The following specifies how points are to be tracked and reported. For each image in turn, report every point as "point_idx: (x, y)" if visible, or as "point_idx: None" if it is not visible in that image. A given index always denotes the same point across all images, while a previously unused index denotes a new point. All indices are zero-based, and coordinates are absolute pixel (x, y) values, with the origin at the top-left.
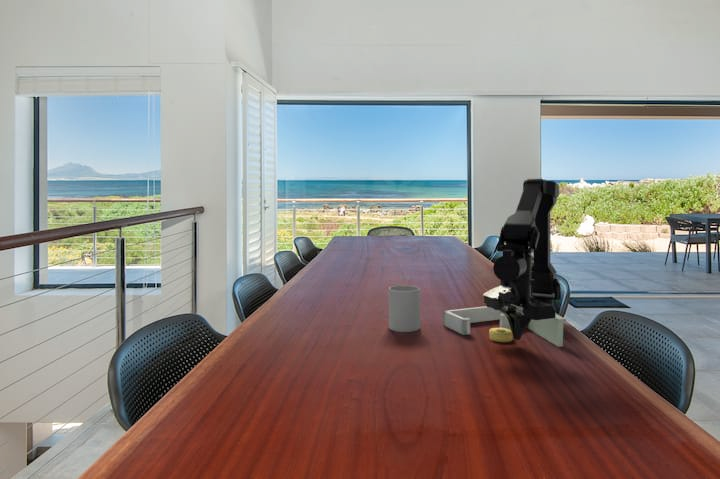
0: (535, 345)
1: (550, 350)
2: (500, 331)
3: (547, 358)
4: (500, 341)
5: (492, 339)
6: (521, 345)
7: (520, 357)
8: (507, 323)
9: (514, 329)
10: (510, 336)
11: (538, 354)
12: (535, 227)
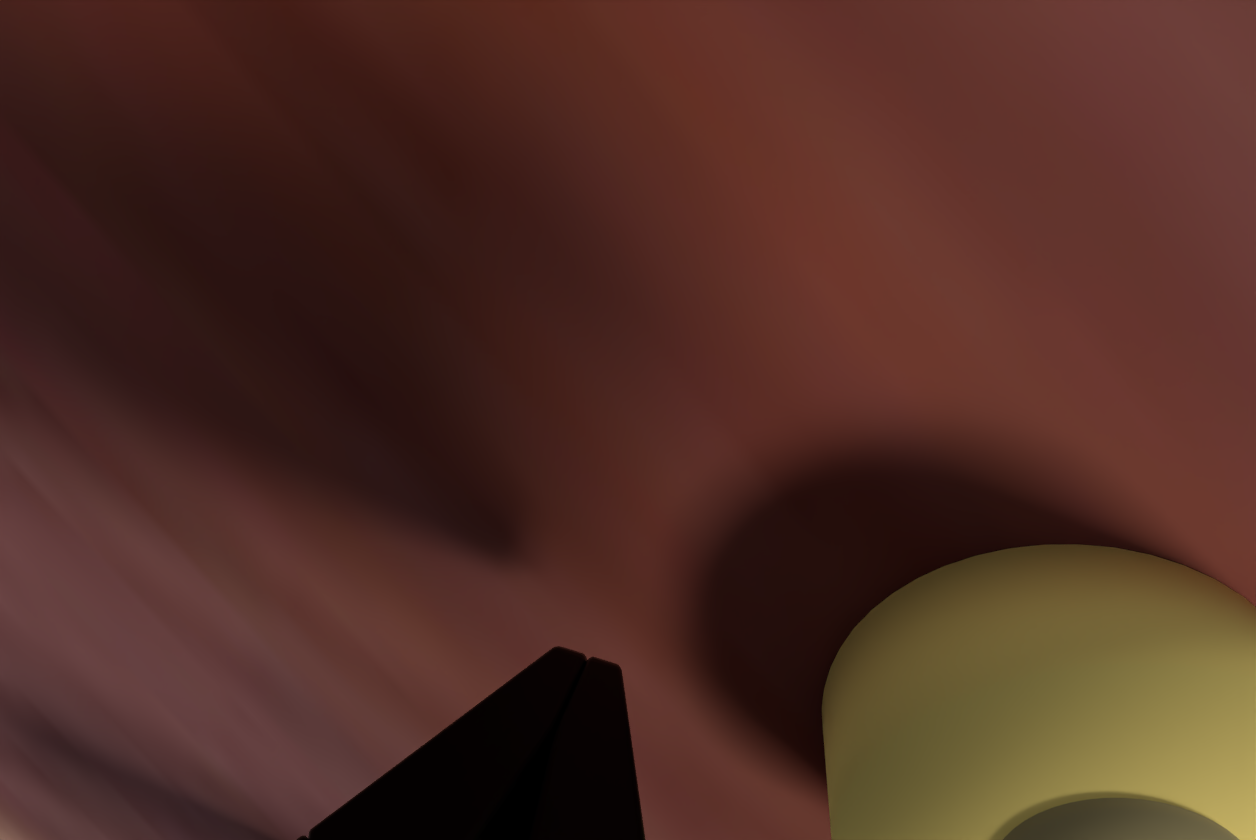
0: None
1: (268, 723)
2: (1079, 827)
3: (51, 456)
4: (926, 583)
5: (1124, 559)
6: None
7: (164, 169)
8: None
9: (469, 811)
10: (828, 788)
11: (197, 501)
12: None
